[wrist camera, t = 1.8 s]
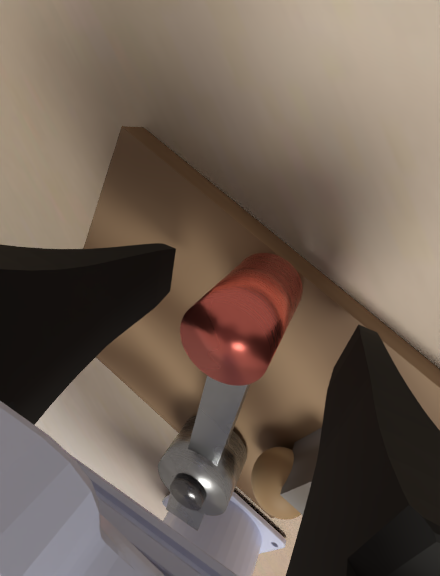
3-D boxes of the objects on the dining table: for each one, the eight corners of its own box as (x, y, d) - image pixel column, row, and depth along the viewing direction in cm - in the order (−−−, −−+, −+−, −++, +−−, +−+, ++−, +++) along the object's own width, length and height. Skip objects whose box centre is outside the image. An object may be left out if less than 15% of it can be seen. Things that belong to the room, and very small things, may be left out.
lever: (228, 499, 21) (195, 578, 17) (175, 465, 22) (134, 531, 19) (332, 274, 12) (308, 340, 8) (230, 235, 13) (167, 276, 9)
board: (277, 496, 22) (255, 573, 18) (76, 314, 23) (17, 348, 19) (489, 409, 13) (535, 523, 9) (143, 127, 15) (59, 123, 11)
